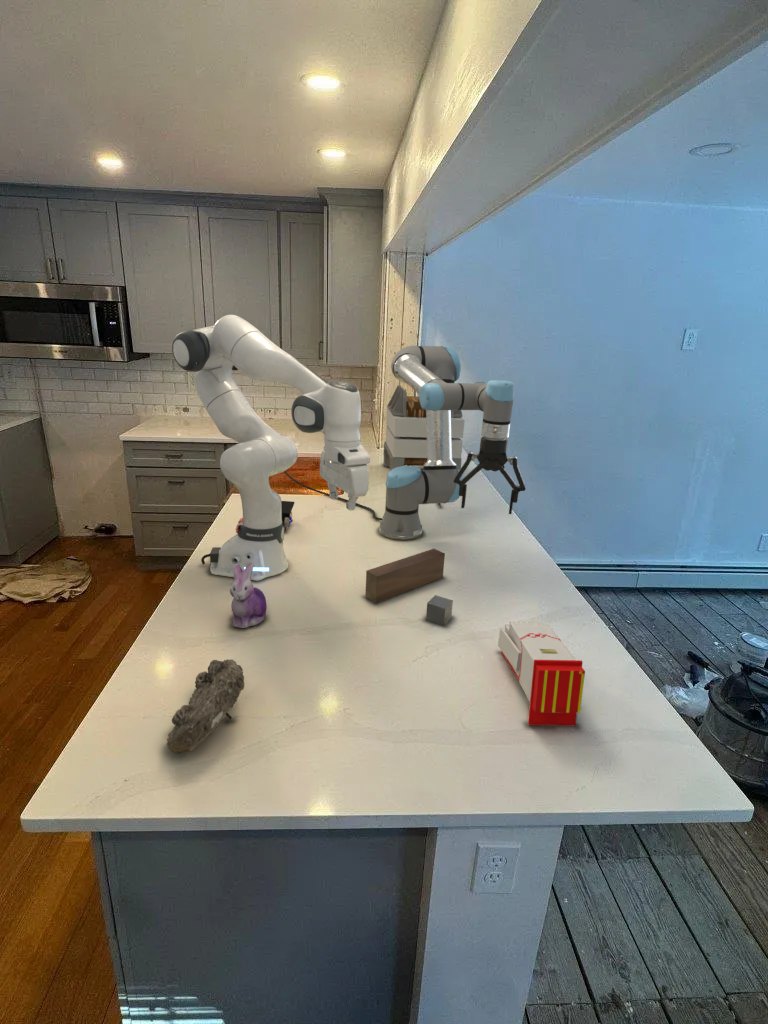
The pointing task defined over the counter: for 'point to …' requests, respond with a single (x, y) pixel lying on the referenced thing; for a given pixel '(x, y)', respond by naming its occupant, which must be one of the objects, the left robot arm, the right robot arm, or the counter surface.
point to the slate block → (439, 610)
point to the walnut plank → (404, 575)
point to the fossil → (206, 705)
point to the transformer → (414, 432)
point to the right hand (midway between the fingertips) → (486, 509)
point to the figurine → (246, 599)
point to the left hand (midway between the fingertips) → (342, 504)
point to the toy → (544, 672)
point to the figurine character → (286, 513)
